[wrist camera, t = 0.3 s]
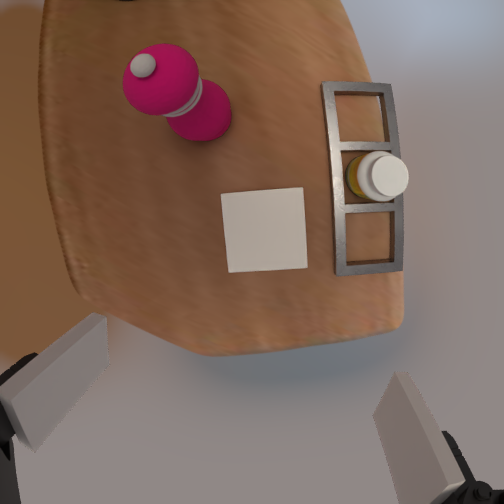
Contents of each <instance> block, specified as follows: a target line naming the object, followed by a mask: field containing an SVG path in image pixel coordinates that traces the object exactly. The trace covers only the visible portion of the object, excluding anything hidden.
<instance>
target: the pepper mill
mask: <svg viewBox="0 0 504 504" xmlns="http://www.w3.org/2000/svg"><path fill="white" fill-rule="evenodd" d="M123 90H124V94H125V96H126V98H127V100H128V101H129V102H130V104H131V105H132V106H133V107H135V108H136V109H137V110H139V111H141V112H143V113H146V114H149V115H162V116H166V118H167V120H168V123H169V125H170V127H171V128H172V129H173V130H174V131H175V132H176V133H177V134H178V135H180V136H181V137H183V138H185V139H188V140H193V141H199V140H201V141H209V140H213V139H216V138H218V137H220V136H221V135H222V134H224V132H225V131H226V130H227V129H228V127H229V125H230V122H231V109H230V102H229V98H228V96H227V94H226V93H225V92H224V90H223V89H222V88H221V87H219V86H218V85H217V84H215V83H214V82H211V81H208V80H203V79H201V78H200V76H199V73H198V66H197V64H196V62H195V60H194V58H193V57H192V56H191V55H190V54H189V53H188V52H187V51H186V50H184V49H183V48H181V47H179V46H176V45H172V44H157V45H153V46H150V47H147V48H145V49H143V50H142V51H140V52H139V53H138V54H137V55H135V56H134V57H133V58H132V60H131V61H130V62H129V64H128V66H127V68H126V70H125V72H124V76H123Z"/></svg>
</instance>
